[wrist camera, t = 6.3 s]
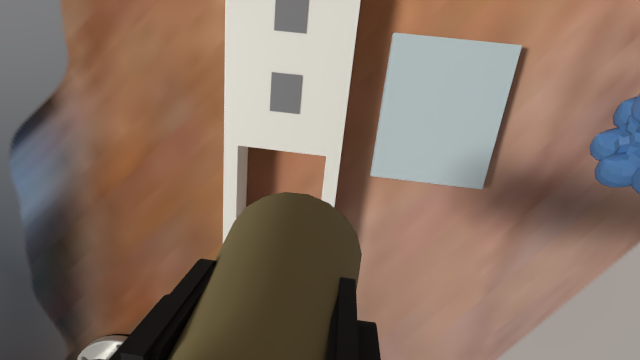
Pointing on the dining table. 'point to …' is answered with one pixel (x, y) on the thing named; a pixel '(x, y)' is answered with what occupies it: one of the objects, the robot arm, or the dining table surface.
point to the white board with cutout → (285, 86)
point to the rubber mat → (442, 109)
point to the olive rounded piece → (273, 283)
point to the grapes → (620, 148)
